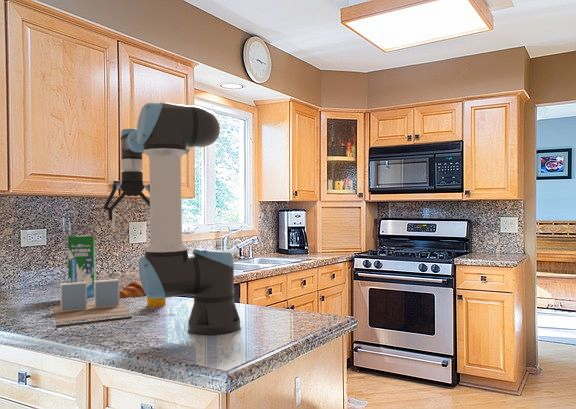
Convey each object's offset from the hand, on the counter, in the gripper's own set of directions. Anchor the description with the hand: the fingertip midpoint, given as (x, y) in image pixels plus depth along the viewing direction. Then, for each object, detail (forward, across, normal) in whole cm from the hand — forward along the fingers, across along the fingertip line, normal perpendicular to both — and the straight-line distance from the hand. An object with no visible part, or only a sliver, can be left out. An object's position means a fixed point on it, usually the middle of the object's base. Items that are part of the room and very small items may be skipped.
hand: (132, 228), depth 178 cm
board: (+28, +15, +13) cm, 34 cm away
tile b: (+26, +10, +8) cm, 29 cm away
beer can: (+28, -6, +14) cm, 32 cm away
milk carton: (+28, +17, -18) cm, 38 cm away
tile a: (+26, +20, +9) cm, 34 cm away
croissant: (+28, -3, -11) cm, 30 cm away
